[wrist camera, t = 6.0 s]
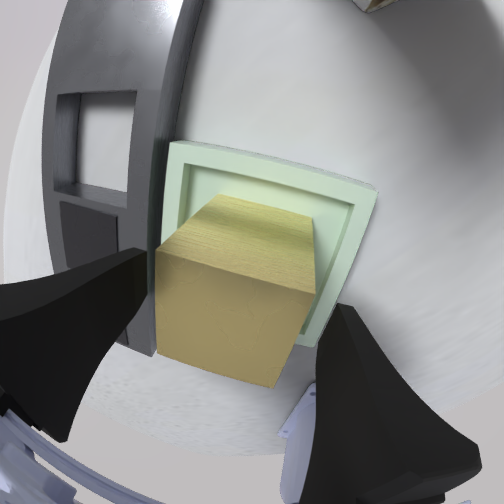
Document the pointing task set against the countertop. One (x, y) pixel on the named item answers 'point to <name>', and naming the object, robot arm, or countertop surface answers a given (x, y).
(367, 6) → the coffee box
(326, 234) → the tray
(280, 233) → the brass cube
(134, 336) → the grey flat long piece
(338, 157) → the countertop surface
